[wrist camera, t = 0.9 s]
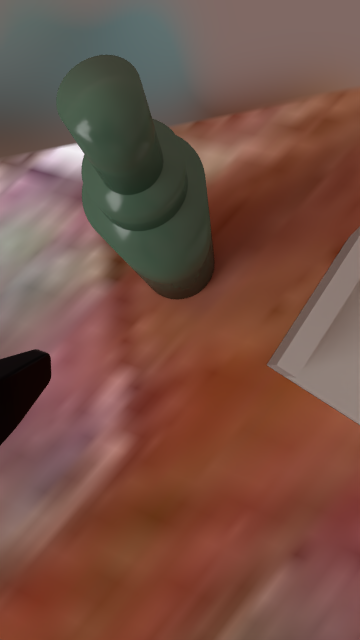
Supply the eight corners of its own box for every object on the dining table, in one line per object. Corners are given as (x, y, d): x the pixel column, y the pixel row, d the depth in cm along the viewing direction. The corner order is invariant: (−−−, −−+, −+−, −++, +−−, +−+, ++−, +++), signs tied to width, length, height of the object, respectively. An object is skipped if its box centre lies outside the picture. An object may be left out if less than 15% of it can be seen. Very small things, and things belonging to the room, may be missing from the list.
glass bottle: (170, 313, 22) (71, 223, 8) (129, 258, 23) (-22, 92, 9) (229, 269, 22) (235, 96, 8) (185, 216, 23) (122, -23, 9)
